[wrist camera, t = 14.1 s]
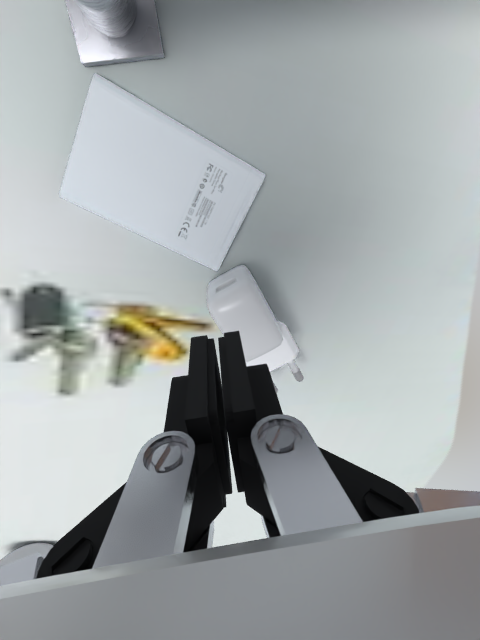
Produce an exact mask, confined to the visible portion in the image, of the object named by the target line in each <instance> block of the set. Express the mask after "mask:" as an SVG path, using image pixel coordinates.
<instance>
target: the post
mask: <svg viewBox="0 0 480 640" xmlns="http://www.w3.org/2000/svg"><path fill="white" fill-rule="evenodd" d="M65 3H66V7H67V11H68V14H69V18H70V22H71V26H72V30H73V33H74V37H75V41H76V45H77V49H78V52H79V56H80V60H81V63H82V64H83V65H84V66H85V67H90V66H98V65H107V64H116V63H125V62H134V61H143V60H151V59H160V58H165V57H164V51H163V46H162V40H161V34H160V28H159V22H158V16H157V11H156V5H155V0H65Z"/></svg>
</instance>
